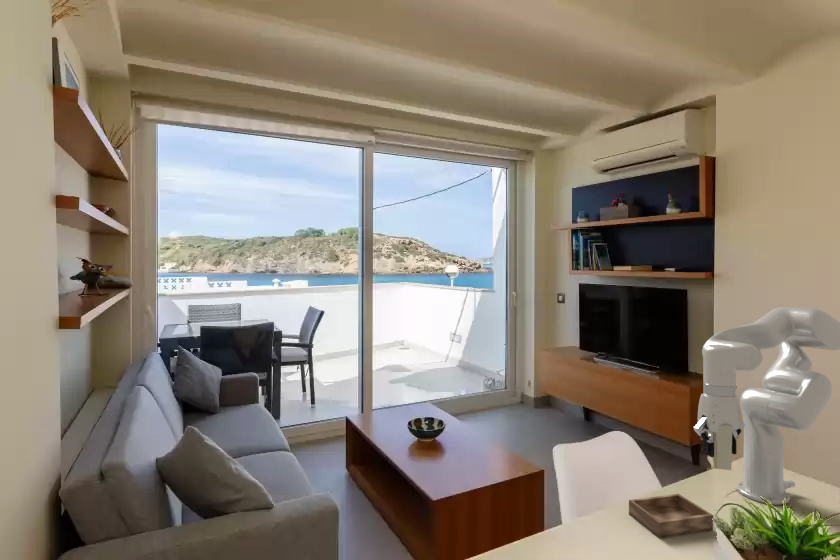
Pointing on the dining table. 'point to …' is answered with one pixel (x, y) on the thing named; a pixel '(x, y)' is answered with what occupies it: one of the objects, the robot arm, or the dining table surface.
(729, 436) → the skincare box
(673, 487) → the dining table surface
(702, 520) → the box
